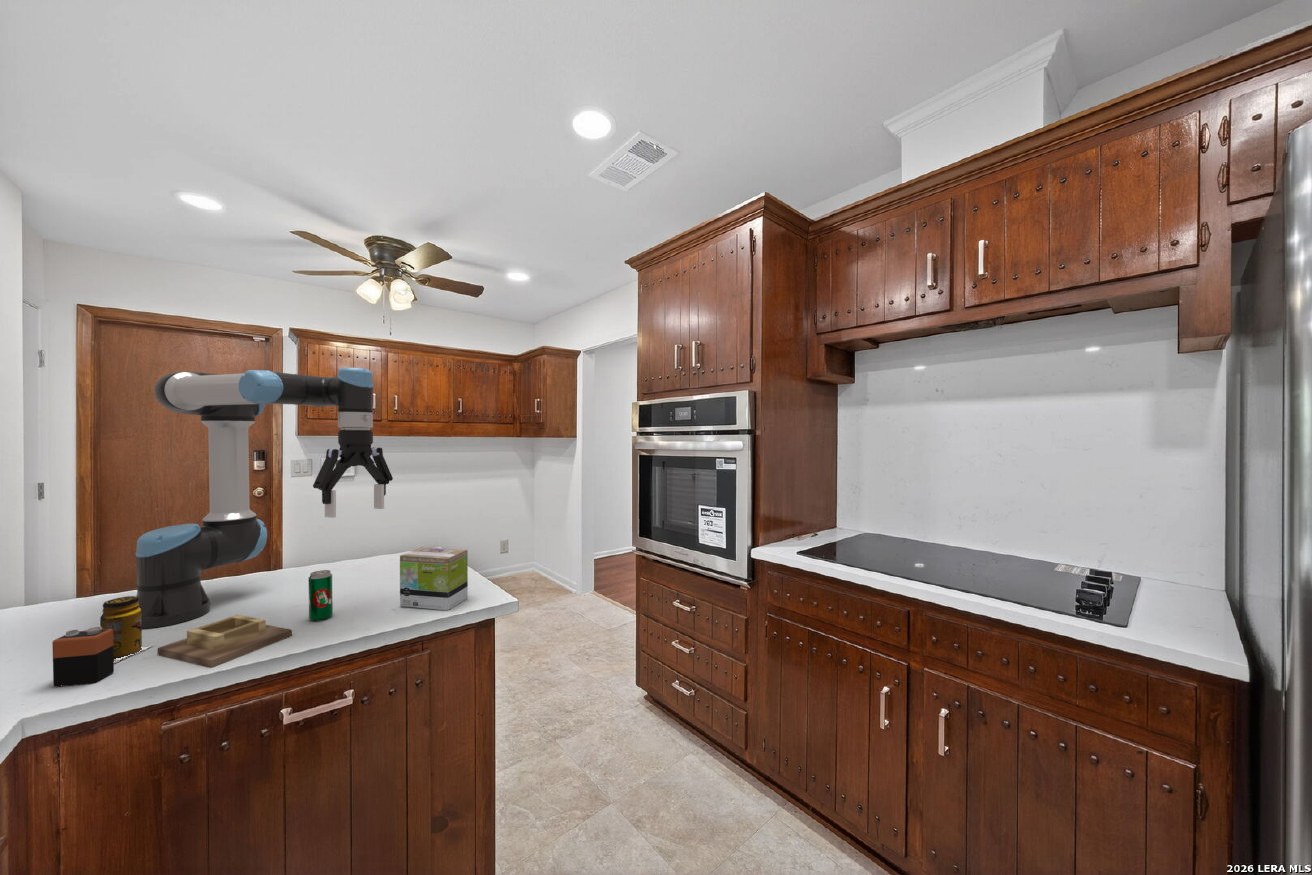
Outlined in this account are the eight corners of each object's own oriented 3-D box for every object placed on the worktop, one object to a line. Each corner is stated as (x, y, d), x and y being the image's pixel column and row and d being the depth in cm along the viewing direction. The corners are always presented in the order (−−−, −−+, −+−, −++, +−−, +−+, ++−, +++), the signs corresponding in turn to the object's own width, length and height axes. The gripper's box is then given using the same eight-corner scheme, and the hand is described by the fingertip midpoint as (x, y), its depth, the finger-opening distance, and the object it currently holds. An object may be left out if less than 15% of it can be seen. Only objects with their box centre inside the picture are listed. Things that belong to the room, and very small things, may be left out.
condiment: (153, 646, 108) (152, 594, 108) (112, 665, 100) (111, 608, 100) (120, 647, 108) (119, 594, 108) (76, 665, 100) (75, 608, 100)
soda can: (316, 614, 127) (316, 569, 127) (336, 614, 127) (336, 569, 127) (304, 622, 122) (303, 575, 122) (325, 621, 122) (324, 574, 122)
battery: (96, 683, 93) (94, 632, 93) (51, 688, 91) (50, 635, 91) (115, 672, 97) (114, 623, 97) (73, 676, 95) (72, 626, 95)
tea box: (398, 608, 132) (398, 554, 131) (422, 595, 142) (421, 545, 141) (448, 611, 129) (448, 557, 129) (469, 598, 139) (468, 547, 139)
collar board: (157, 654, 104) (157, 634, 104) (241, 626, 120) (240, 608, 120) (211, 667, 99) (211, 645, 99) (292, 635, 114) (291, 617, 114)
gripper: (318, 429, 109) (318, 522, 109) (407, 429, 132) (407, 506, 133) (294, 428, 111) (295, 520, 111) (386, 429, 135) (386, 504, 135)
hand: (355, 512), depth 122 cm, fingers open, 13 cm apart
